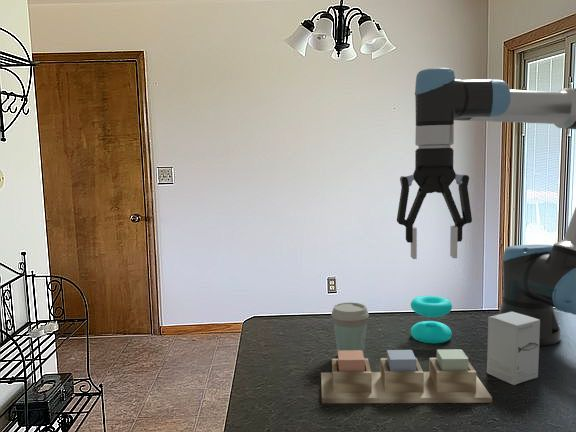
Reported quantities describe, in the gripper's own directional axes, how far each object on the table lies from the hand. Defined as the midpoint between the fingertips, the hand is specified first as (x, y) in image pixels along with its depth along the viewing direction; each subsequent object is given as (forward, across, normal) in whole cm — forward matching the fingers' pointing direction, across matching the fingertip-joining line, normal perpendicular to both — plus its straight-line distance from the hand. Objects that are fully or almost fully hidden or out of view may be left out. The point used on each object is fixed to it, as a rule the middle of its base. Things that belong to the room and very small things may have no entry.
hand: (433, 257), depth 114 cm
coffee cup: (+25, +17, -9) cm, 32 cm away
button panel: (+25, +8, +8) cm, 28 cm away
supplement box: (+25, -16, +2) cm, 30 cm away
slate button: (+22, +8, +8) cm, 25 cm away
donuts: (+25, -4, -21) cm, 33 cm away
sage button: (+22, -2, +8) cm, 23 cm away
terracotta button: (+22, +18, +8) cm, 29 cm away
